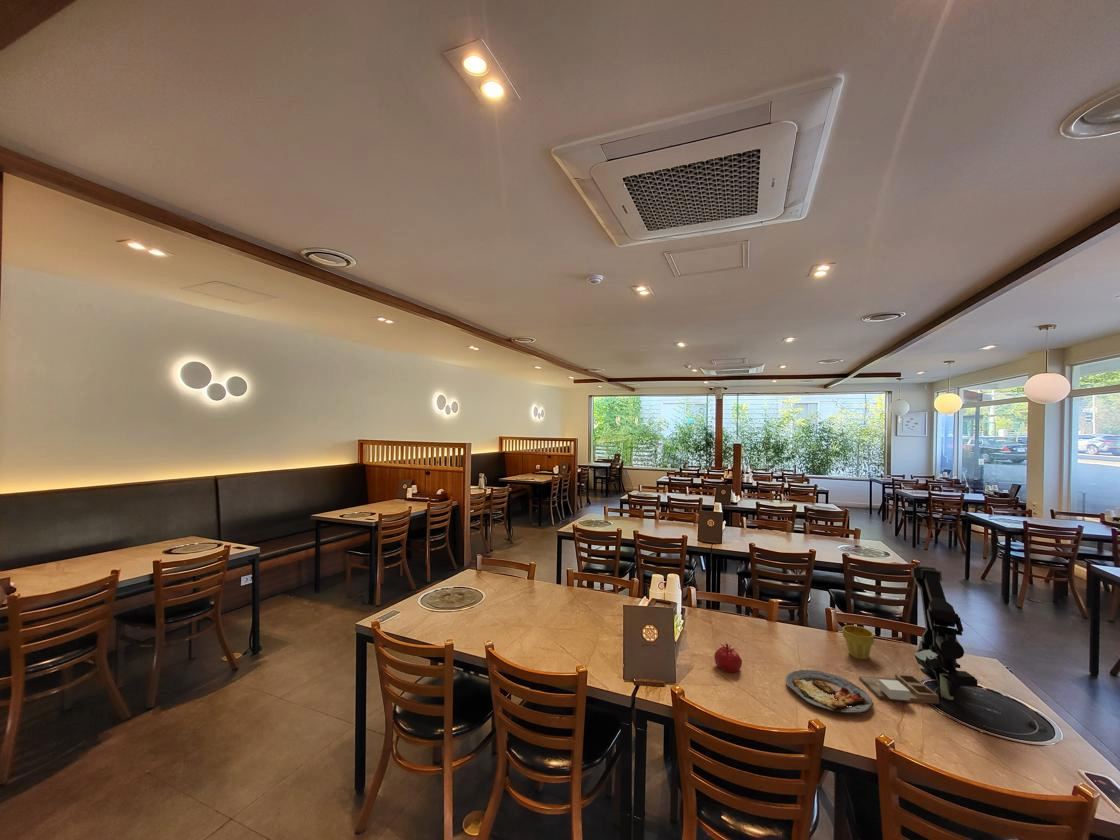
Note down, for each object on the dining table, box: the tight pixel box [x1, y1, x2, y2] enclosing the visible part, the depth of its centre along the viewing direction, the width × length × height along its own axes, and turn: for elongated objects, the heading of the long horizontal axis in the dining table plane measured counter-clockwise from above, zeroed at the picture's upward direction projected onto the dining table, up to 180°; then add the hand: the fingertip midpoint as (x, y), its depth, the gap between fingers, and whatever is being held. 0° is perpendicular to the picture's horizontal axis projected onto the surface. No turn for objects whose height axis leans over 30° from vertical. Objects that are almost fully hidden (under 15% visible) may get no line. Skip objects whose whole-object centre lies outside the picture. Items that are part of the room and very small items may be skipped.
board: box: [858, 673, 940, 705], centre depth 144 cm, size 12×18×3 cm, turn 81°
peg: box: [939, 673, 955, 701], centre depth 141 cm, size 3×3×7 cm
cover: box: [879, 679, 910, 700], centre depth 140 cm, size 6×6×3 cm
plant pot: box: [842, 624, 875, 660], centre depth 169 cm, size 10×10×10 cm
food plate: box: [785, 669, 874, 714], centre depth 143 cm, size 25×23×4 cm
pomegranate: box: [713, 642, 743, 673], centre depth 160 cm, size 10×10×9 cm
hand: (946, 692), depth 141 cm, fingers open, 4 cm apart
